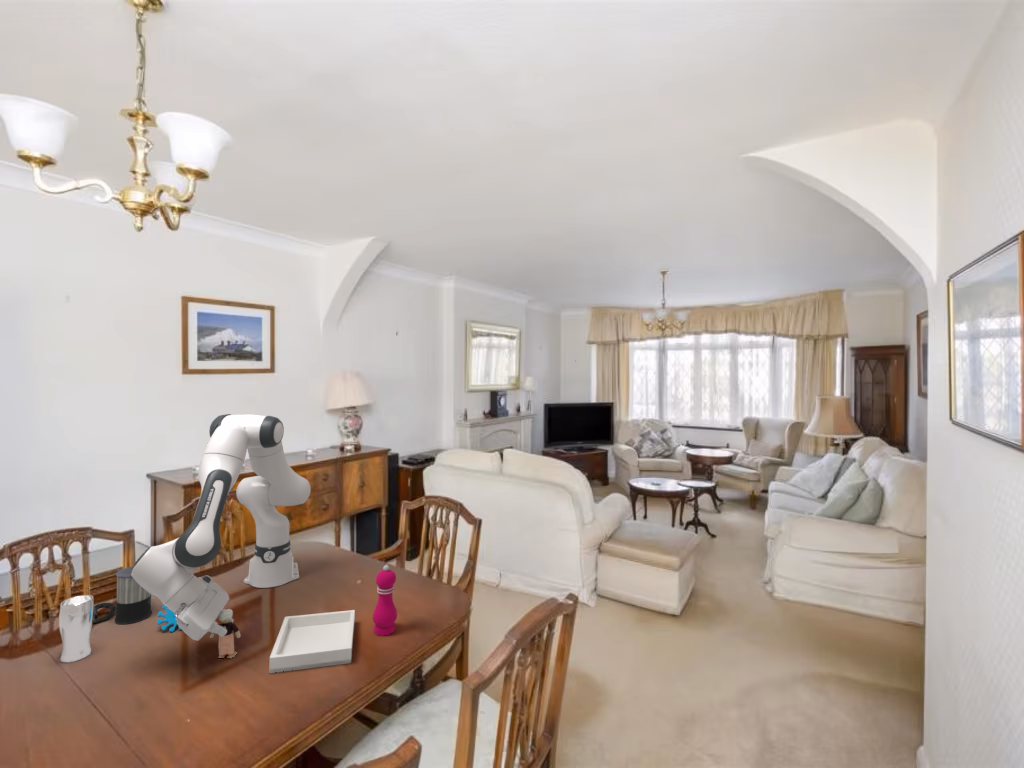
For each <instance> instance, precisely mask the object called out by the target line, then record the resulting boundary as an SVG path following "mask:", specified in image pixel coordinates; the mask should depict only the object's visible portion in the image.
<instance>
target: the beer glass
mask: <svg viewBox="0 0 1024 768" xmlns="http://www.w3.org/2000/svg"><path fill="white" fill-rule="evenodd" d="M94 603H95V602H94V595H91V594H84V595H83V594H81V595H77V596H73V597H69V598H67V599H64V600H63V601H61V602H60V605H59V606H60V607H59V614H58V615H59V616H58V626H59V627H58V628H59V632H60V637H61V641H62V642H61V643H62V652H61V656H60V662H61V663H73V662H77V661H80V660H82V659H85V658H87V657H88V656H89V655H91V653H92V648H91V643H90V637H91V631H92V627H93V624H94V623H93V619H94V606H95V604H94Z"/></svg>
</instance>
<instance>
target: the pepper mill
mask: <svg viewBox="0 0 1024 768" xmlns="http://www.w3.org/2000/svg"><path fill="white" fill-rule="evenodd" d="M396 581H397V575H396V572H395V571H393V570H392V569H390V566H389V564H385V565H384V566H383V568H382V570H380V571H379V572H377V574H376V577H375V584H376V585H377V587H376V589H377V590H376V592H377V593H378V597H377V598H378V599H377V603H376V606H375V607H374V610H373V613H372V621H373V623H374V626H373V633H374V634H375V635H377V636H379V635H380V636H381V637H386V636H389V634H390V635H392V634H393V633H394V632H395V630H396V620H397V618H398V610H397V608H396V605H395V604H394V603H395V602H394V599H393V593H394V592H395V585H394V584H395V583H396ZM391 633H392V634H391ZM385 635H386V636H385Z"/></svg>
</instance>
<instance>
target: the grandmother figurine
mask: <svg viewBox="0 0 1024 768" xmlns="http://www.w3.org/2000/svg"><path fill="white" fill-rule="evenodd" d="M233 615H234V611H233V610H232V609H231V608H227V609H226V608H225V610H224V611H223V612H222V613H221V615H220V616H219V618H218V621H220V622H221V623H218V625H220V626H222V627H223V626H225V627H226V628H228V632H227V633H226V634H225V635H224V636H223V637H221V636H219V635H218V657H217V658H224V657H225V656H226V655H227V656H226V657H225V658H231V659H232V657H233V658H234V657H236V656H237V655H238V652H237V651H235V639H234V638H235V637H234V634H235V636H236V638H237V639H240V638H242V635H241V632H240V629H239V628H238V626H237V625H236V624H235V623H234V622H233V623H231V622H230V621H231V619H233ZM215 635H216V634H215V633H211V632H210V635H209V638H210V639H213V638H214V637H215ZM236 654H237V655H236ZM235 655H236V656H235ZM225 658H224V659H225Z"/></svg>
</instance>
